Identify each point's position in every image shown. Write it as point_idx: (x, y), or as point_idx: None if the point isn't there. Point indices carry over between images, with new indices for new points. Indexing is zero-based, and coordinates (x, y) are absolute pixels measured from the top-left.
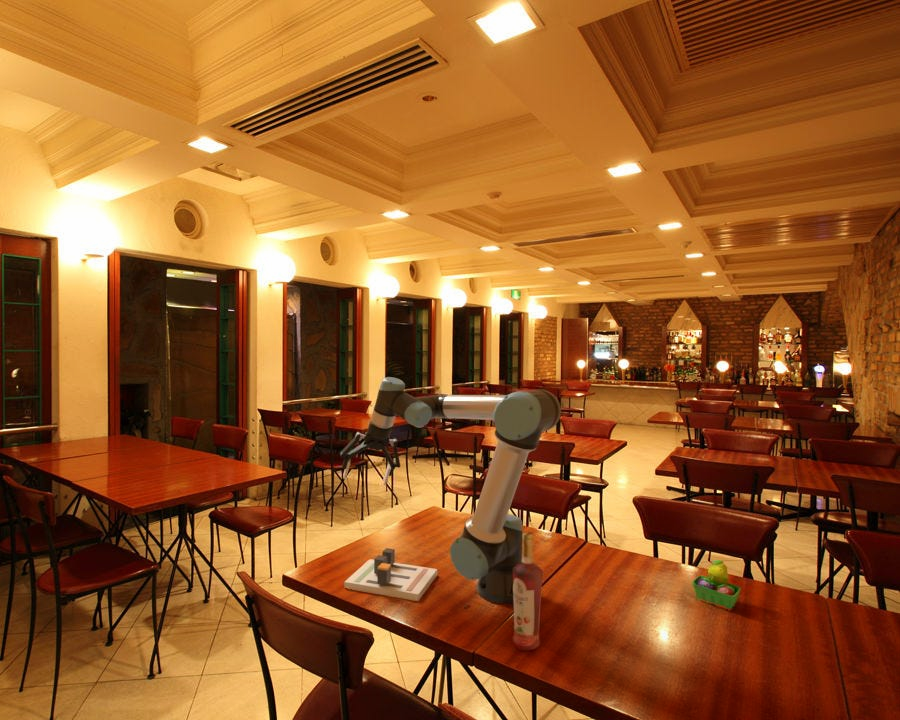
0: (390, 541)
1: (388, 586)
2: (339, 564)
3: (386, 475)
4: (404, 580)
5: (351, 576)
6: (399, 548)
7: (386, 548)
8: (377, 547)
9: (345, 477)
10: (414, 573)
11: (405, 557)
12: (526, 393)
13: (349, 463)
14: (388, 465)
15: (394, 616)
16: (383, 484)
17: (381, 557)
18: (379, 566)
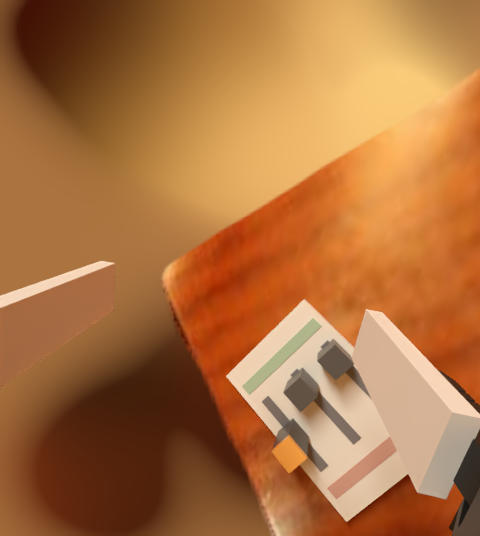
0: (399, 189)
1: None
2: (248, 268)
3: (379, 412)
4: (341, 443)
5: (243, 361)
6: (406, 241)
7: (334, 348)
8: (352, 214)
9: (102, 314)
10: (378, 426)
11: (401, 299)
12: None
13: (6, 377)
14: (444, 441)
15: (280, 526)
16: (353, 352)
17: (302, 393)
18: (277, 451)
